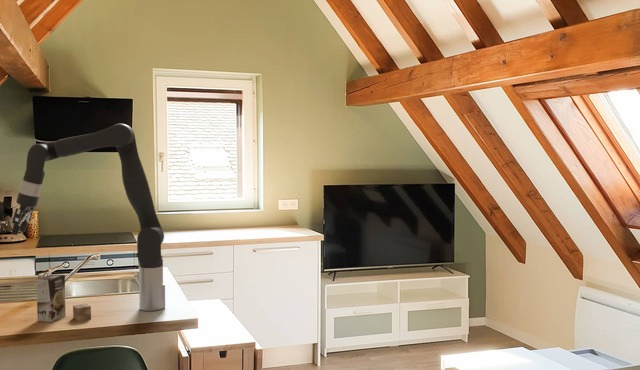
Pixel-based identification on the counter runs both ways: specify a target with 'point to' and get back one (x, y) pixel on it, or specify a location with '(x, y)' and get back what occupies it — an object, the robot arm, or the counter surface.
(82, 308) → the walnut cube
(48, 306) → the coffee box
